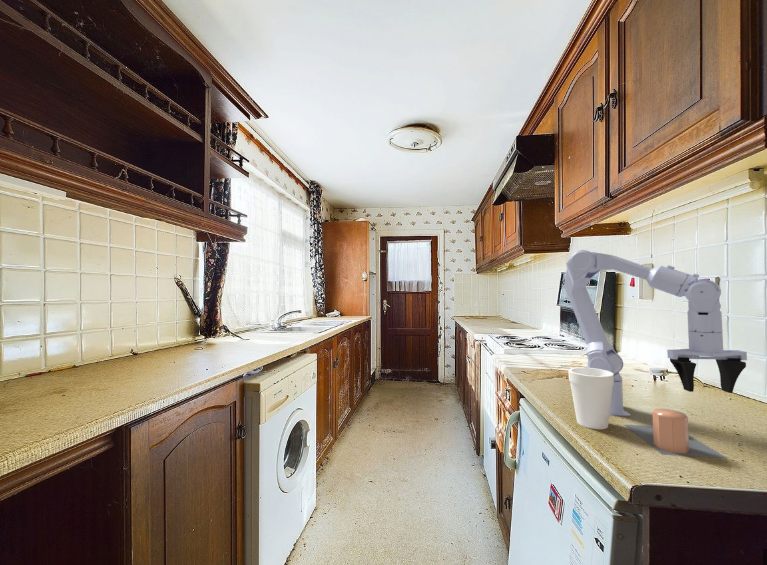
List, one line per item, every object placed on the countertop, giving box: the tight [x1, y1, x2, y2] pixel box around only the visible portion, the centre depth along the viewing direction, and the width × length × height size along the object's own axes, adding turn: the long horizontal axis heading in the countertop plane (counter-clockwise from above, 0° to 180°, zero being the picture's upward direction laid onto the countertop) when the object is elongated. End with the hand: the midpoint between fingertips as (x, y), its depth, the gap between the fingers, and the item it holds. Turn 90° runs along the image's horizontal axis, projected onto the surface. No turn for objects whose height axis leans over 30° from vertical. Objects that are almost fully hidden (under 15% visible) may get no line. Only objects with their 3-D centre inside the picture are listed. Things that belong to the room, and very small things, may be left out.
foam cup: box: [568, 367, 614, 430], centre depth 82 cm, size 10×9×13 cm
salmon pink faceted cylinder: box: [652, 408, 690, 454], centre depth 70 cm, size 5×5×7 cm
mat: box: [623, 424, 728, 459], centre depth 73 cm, size 15×11×1 cm
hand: (707, 391), depth 77 cm, fingers open, 7 cm apart
